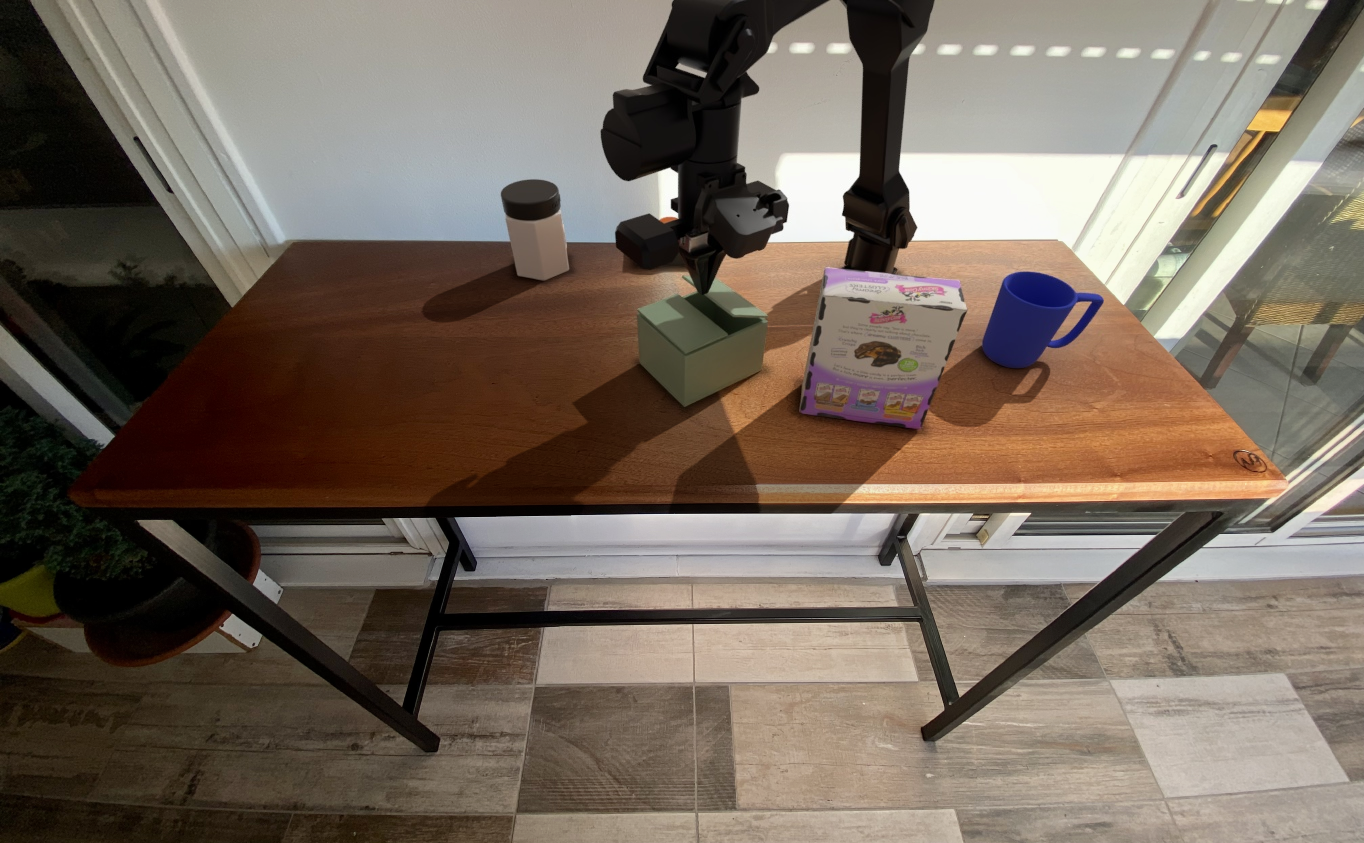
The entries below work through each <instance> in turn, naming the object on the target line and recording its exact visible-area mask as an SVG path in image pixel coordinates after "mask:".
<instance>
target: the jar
mask: <svg viewBox="0 0 1364 843" xmlns="http://www.w3.org/2000/svg"><path fill="white" fill-rule="evenodd" d="M500 198H501V202H502V208H503V212H504V220H505V224H506V229H507V233H508V237H509V242H510V247H511V251H512V256H513V261H514V267H515V271H516V275H517V276H518V277H521V278H527V279H533V280H538V281H543V282H544V281H548V280H550V279H552V278H554V277H557V276H559V275H562V274H564V273H567V272H569V270H570V265H569V259H568V258H569V257H568V251H567V248H568V246H567V245H568V244H567V237H566V230H565V224H564V222H563V215H562V208H561V207H562V205H561V202H562V200H561V194H560V191H559V187H558V186H557V185H556V184H555V182H551V181H548V180H545V179H539V178H535V179H533V178H532V179H522V180H517V181H514V182H511V183H509V184H507V185H506V186H504V187H503V188H502V189H501V191H500Z"/></svg>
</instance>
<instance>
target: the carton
mask: <svg viewBox="0 0 1364 843" xmlns="http://www.w3.org/2000/svg"><path fill="white" fill-rule="evenodd" d="M636 311H637V312H638V313H636V323H637V324H636V326H637V343H638V360H639V364H640V365H641V366H642V367H643V368H644V369H645V370H646V371H647V372H648V373H649V374H650V375H651V376H652V377H653V378H654V379H655V380H656V381H657V382H658V383H659V384H660V385H661V386H662V387H663V388H665V390H666V391H667V392H668V393H669V394H670V395H672V397H674V399H675V400H676V401H677V402H679V404H680V405H681V406H682V407H683V408H685V407H688V406H690V405H692V404H694V403H696V402H698V401H700V400H702V399H704V398H706V397H708V396H711V395H713V394H715V393H717V392H719V391H721V390H724V389H725V388H727V387H729V386H731V385H734V384H736V383H738V382H740V381H742V380H744V379H747V378H748V377H750V376H753V375H755V374H757V373H758V372H761V371H762V370H763V364H764V358H765V356H764V355H765V348H766V341H767V334H768V325H769V321H768V320H767V318H752V317H732V316H731V315H730V314H729V313H727V312H726V311H725V310H723V309H722V308H721V307H719V306H718V305H717V304H716V303H714V302H713V301H712V300H710V299H709V298H708V297H706V296H705V295H701V294H700V293H698V292H697V290H696V291H693V292H690V293H688V294H686V295H682V296H681V295H680V294H679V293H675V294H673V295H671V296H667V297H665V298H663V299H660V300H657V301H654V302H652V303H649V304H647V305H643V306H641V307H638V308H637V309H636Z"/></svg>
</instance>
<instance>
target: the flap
mask: <svg viewBox="0 0 1364 843" xmlns="http://www.w3.org/2000/svg"><path fill="white" fill-rule="evenodd" d="M681 278H682V279H683V280H684V281H685V282H687V283H688V284H690V285H691V286H692V287H693V288H695V289H696V287H695V285H694V283H693V281H692V279H691V277H690V275H682V276H681ZM704 295H705V296H706V297H708V298H709V299H710V300H712V301H713V302H714V303H716V304H717V305H718V306H719V307H721V308H722V309H723V310H725V311H726V312H727V313H729V314H730V315H731V316H732V317H752V318H765V319H768V318H769V315H768V314H767V313H766V312H764V311H763V310H762V309H760V308H759V307H757V306H756V305H754V304H753V303H752V302H751V301H749V300H748V299H746V298H745V297H744V296H742V295H741V294H739V293H738V292H736V291H735V290H734V289H733V288H732V287H730V286H728V285H727V284H726V283H724V282H723V281H721V279H719V278H716V277H715V279H714V281H713V283H712V286H711V288H710V290H709V292H708V293H707V294H704Z"/></svg>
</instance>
